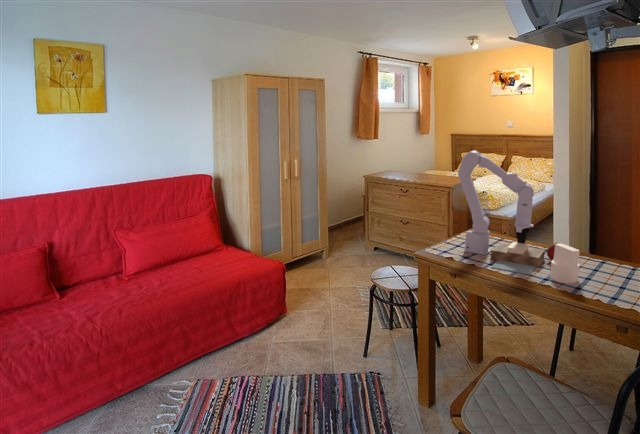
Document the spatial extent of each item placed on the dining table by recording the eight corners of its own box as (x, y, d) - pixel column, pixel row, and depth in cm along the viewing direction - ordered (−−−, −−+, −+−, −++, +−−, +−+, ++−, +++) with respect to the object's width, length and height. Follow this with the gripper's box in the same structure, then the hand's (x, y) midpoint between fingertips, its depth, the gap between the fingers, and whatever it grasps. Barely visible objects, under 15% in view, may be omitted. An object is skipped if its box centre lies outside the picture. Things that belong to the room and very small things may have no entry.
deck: (490, 259, 184) (491, 250, 183) (498, 251, 193) (499, 243, 192) (537, 267, 173) (538, 257, 172) (543, 259, 182) (544, 249, 182)
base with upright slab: (583, 281, 158) (587, 249, 156) (561, 284, 157) (565, 252, 154) (565, 273, 167) (568, 242, 164) (544, 275, 165) (547, 244, 162)
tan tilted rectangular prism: (507, 252, 180) (507, 247, 179) (512, 246, 187) (513, 241, 186) (522, 254, 176) (523, 249, 176) (527, 248, 183) (528, 244, 183)
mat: (491, 267, 174) (491, 267, 174) (498, 260, 182) (498, 260, 182) (529, 274, 166) (529, 274, 166) (535, 267, 174) (535, 266, 174)
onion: (561, 264, 176) (563, 245, 174) (545, 262, 178) (547, 243, 177) (562, 260, 180) (564, 241, 178) (547, 258, 183) (548, 239, 181)
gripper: (530, 218, 175) (527, 251, 178) (538, 211, 186) (535, 242, 189) (511, 216, 179) (509, 248, 182) (520, 209, 190) (517, 239, 193)
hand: (521, 245), depth 186 cm, fingers closed
